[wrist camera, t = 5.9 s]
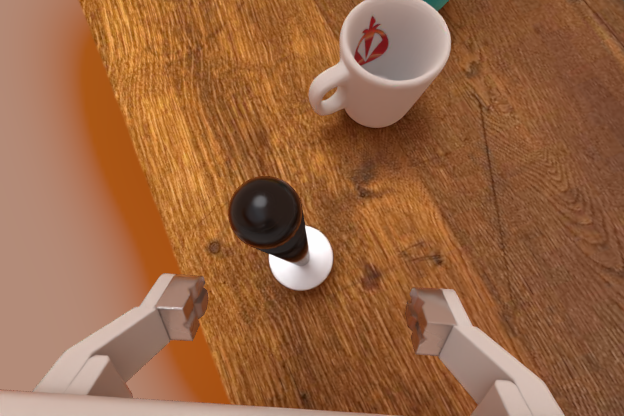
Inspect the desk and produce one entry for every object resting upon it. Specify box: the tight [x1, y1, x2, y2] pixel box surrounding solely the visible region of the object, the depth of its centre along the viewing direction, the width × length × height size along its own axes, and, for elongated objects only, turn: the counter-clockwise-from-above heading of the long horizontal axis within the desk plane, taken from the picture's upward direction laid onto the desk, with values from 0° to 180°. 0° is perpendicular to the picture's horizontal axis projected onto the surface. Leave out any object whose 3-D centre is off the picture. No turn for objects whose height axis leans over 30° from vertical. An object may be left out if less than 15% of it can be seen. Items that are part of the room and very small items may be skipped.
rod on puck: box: [228, 176, 333, 291], centre depth 15 cm, size 5×5×20 cm
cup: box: [309, 0, 451, 128], centre depth 24 cm, size 11×8×8 cm
